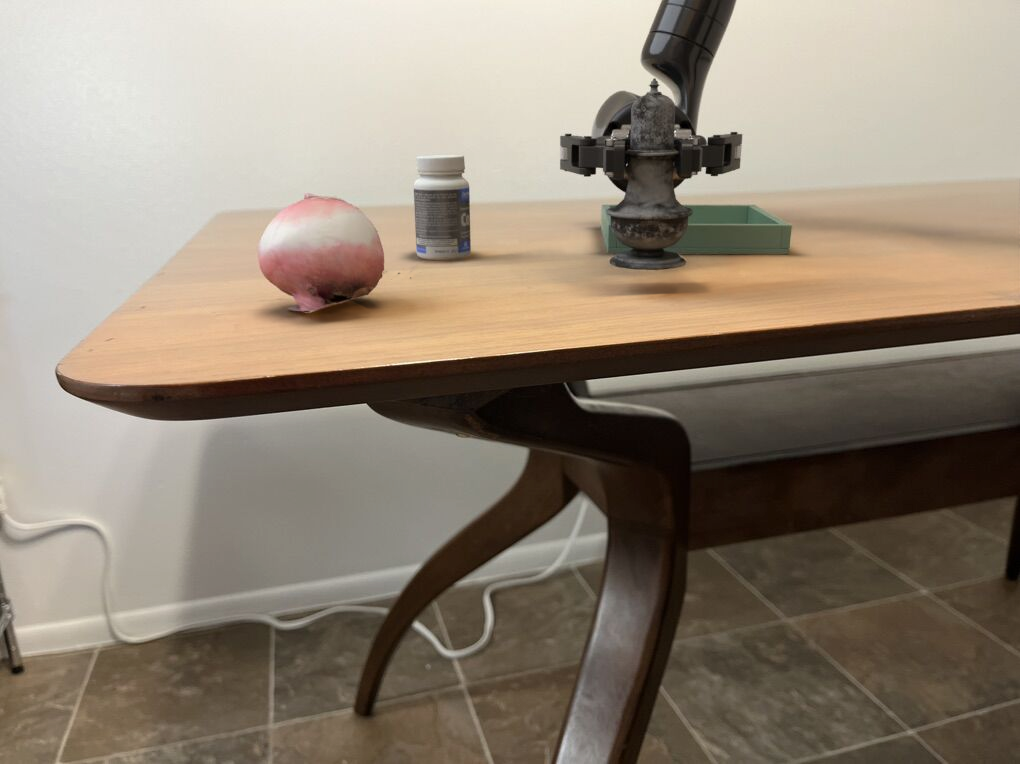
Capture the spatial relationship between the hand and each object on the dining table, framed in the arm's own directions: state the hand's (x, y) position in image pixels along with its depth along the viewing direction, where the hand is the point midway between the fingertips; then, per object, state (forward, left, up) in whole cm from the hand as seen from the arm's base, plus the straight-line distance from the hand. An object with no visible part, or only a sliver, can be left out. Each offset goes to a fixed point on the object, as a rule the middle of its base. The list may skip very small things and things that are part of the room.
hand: (653, 161), depth 52 cm
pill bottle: (+16, -16, -9) cm, 24 cm away
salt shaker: (0, -3, -7) cm, 8 cm away
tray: (-6, -25, -9) cm, 27 cm away
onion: (+21, +3, -9) cm, 23 cm away
